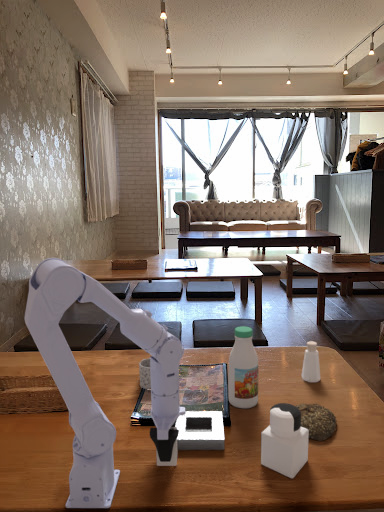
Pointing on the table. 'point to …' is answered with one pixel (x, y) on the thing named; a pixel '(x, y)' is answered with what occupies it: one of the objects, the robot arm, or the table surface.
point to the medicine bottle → (284, 441)
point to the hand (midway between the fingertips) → (166, 450)
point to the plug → (174, 454)
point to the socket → (200, 430)
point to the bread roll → (317, 421)
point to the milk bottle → (243, 370)
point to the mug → (145, 374)
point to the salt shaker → (311, 363)
